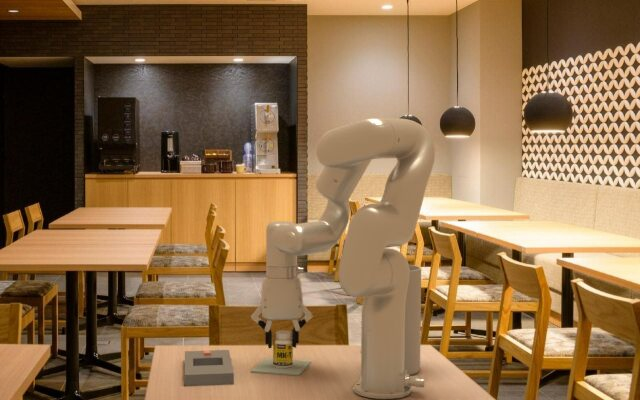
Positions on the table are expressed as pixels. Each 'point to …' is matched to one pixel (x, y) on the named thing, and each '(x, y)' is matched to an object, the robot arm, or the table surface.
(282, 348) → the supplement bottle
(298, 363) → the rubber mat
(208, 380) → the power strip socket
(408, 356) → the cylinder vase
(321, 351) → the table surface
